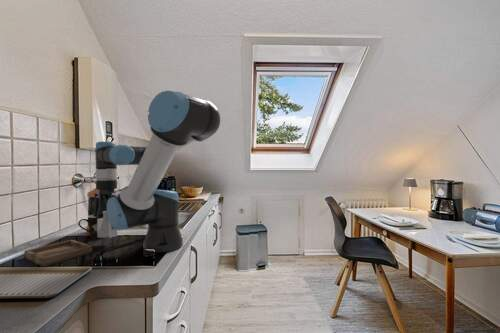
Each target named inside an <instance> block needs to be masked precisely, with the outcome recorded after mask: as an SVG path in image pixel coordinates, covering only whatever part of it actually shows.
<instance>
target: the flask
mask: <svg viewBox="0 0 500 333" xmlns="http://www.w3.org/2000/svg"><path fill="white" fill-rule="evenodd" d="M102 213H103V221H102V224H101V227H100V230H99V232H98V235H97V237H98V238H103V239H105V238H106V239H107V238H110V237H109V219H108V216H107V211H104V212H102Z"/></svg>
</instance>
